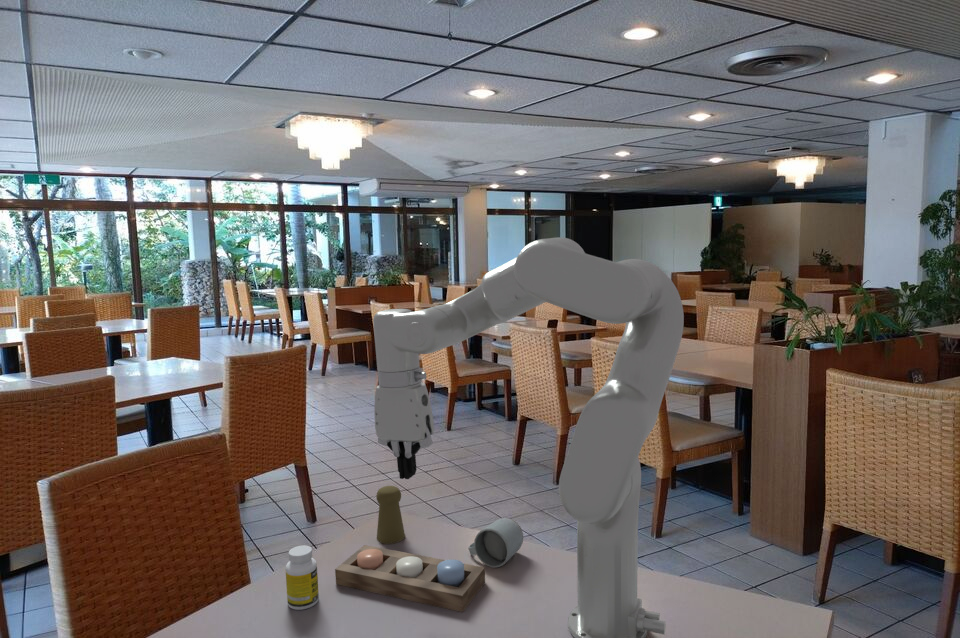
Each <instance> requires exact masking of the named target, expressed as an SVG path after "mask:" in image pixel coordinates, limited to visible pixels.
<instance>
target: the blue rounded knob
mask: <svg viewBox="0 0 960 638" xmlns="http://www.w3.org/2000/svg"><path fill="white" fill-rule="evenodd" d="M444 560H445V561H442V562H440V563H439V564H438V566H437V572H438V583H439V584H444V585H449V586H454V587H459V586H460V585H461V584H462V583H463V581H464V564H465V563H463V562H462V561H461V560H459V559H444Z"/></svg>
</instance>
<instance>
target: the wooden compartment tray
mask: <svg viewBox="0 0 960 638" xmlns="http://www.w3.org/2000/svg"><path fill="white" fill-rule="evenodd" d="M367 549H378V550H380V551H382V553H383V564H381V565H380V566H379V567H378V568H377V569H376V570H371V569H366V568H361V567H358V562H357V555H358V554H359V553H360V552H362V551H364V550H367ZM409 556H414V557H418V558H420V559H421V560H422V566H423V572H422V573H421V574H420V575H419V576H418V577H417V578H416V579H415V578H410V577H405V576H400V575H397V569H396V563H397V561H398V560H399V559H401V558H404V557H409ZM445 560H446V559H441V558H436V557H431V556H426V555H421V554H414V553H409V552H404V551H401V550H400V551H399V550H394V549H387V548H382V547H377V546H373V545H367V544H364V545H363V546H361V547H360V548H359V549H358V550H357V551H356V552H355V551H354V553H353V554H352V555H350V557H348V558H347V559H345V560H344V561H343V562H342V563H340V564H339V566H337V567H336V568H335V569H334V573H335V576H334V577H335V584H336V585H338V586H342V587H343V586H344V587H348V588H352V589H356V590H360V591H365V592H370V593H374V594H379V595H383V596H388V597H393V598H398V599H401V600H404V601H405V600H406V601H411V602H415V603H419V604H424V605H428V606H433V607H438V608H443V609H447V610H452V611H456V612H461V613H464V611H466V609H467V607H468V606H469V605H470V603H471V602H472V601H473V599H475V597H476V595H478V592H479V591H480V590H481V589H482V588H483V586H484V585H485V583H486V570H485V569H486V568H485V567H484V566H479V565H473V564H469V563H463V564H464V581H463V583H462V584H461V585H460V586H459V587H454V586H449V585H444V584H439V583H438V572H437V566H438V564H439V563H440V562H442V561H445Z"/></svg>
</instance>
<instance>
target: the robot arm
mask: <svg viewBox="0 0 960 638" xmlns="http://www.w3.org/2000/svg"><path fill="white" fill-rule="evenodd" d="M679 293H680V292H679V291H678V288H677V287H676V285H675V284H674V282H673V280H672V279H671V277H669V276H668V274H666V273H665V272H664V271H663V270H662V268H660V267H659V266H657V265H656V264H654V263H652V262H650V261H648V260H645V259H640V258H628V259H623V260H620V261H613V260H609V259H605V258H603V257H598V256H596V255H592V254H588V253H586V252H585V251H584V249H583V248H582V247H581V246H580V244H579V243H577V242H576V241H574V240H573V239H570V238H568V237H560V236H559V237H558V236H557V237H551V238H549V237H548V238H541V239H540V238H539V239H537V240H534V241H531V242H529V243H528V244H526V245H525V246H524V247H523V248H522V249H521V250H520V251H519V253H518V255H517V257H514V258H513V259H511V260H509V261H507V262H505V263H504V264H503V263H502V264H501V265H499V266H497V267H495V268H494V269H492V270H490V271H488V272H486V273H485V274H484V275H483V276H482V278H481V283H480V284H479V285H478V286H476V287H475V288H473V289H471V290H470V291H469V292H466V293H465V294H463V295H460V296H459V297H457V298H455V299H453V300H451V301H449V302H447V303H443V304H440V305H435V306H431V307H428V308H424V309H420V310H417V311H413V310H412V309H408V308H392V309H384V310H379V311H378V312H376V313H375V314H374V316H373V318H372V322H373V323H372V324H373V335H374V337H373V338H374V344H375V345H374V347H375V355H376V356H375V358H376V359H375V360H376V367H377V368H376V369H377V380H378V381H377V382H378V385H377V386H376V388H375V395H374V429H375V434H376V437H377V442H378V444H379V445H382V446H385V447H387V448H388V449H390V451H391V452H392V453H393V456H394V457H395V458H396V461H397V462H396V463H397V472H398V473H399V474H398V475H399V479H400V480H404V479H405V480H409V479H411V478H412V477H414V476H415V475H416V473H417V459H416V454H417V453H418V452H419V451H420V450H421V449H426V448H429V447H431V446H432V445H433V444H434V443H433V439H432V436H431V435H433V434H434V433H435V424H434V414H433V408H432V404H431V399H430V398H431V397H430V396H429V395H430V394H429V392H428V388H427V386H426V383H425V382H424V383H423V382H422V381H423V380H424V381H425V380H426V379H427V373H426V371H425V372H424V371H422V370H421V368H422V367H420V356H419V355H430V354H432V353H433V354H434V353H436V352H438V351H441V350H443V349H446V348H448V347H451V346H454V345H455V346H456V345H457V344H459V343H461V342H464V341H466V340H468V339H470V338H472V337H474V336H476V335H478V334H480V333H483V332H484V331H487V330H488V329H490V328H493V327H494V326H496V325H499V324H501V323H507V322H508V321H510V320H512V319H514V318H516V317H519V316H521V315H523V314H524V313H526V312H528V311H530V310H532V309H534V308H535V309H536V307H538V306H541V305H542V304H545V303H548V304H551V305H553V306H555V307H559V308H561V309H565V310H567V311H570V312H573V313H575V314H579V315H581V316H585V317H587V318H590V319H593V320H596V321H600V322H603V323H607V324H613V325H619V324H621V325H622V324H625V327H624V331H623V333H622V335H621V338H620V341H619V344H618V346H617V349H616V352H615V357H614V359H613V362H612V364H611V365H612V366H611V368H610V371H609V372H608V373H609V374H608V376H607V378H606V381H605V383H604V385H603V386H602V387H601V388H600V389H599V390H598V392H596V393H595V394H594V395H593V396H591V398H590V399H589V400H588V401H587V402H586V404H585V406H584V407H583V409H582V411H581V413H580V415H579V418H578V420H577V423H576V426H575V428H574V431H573V435H572V438H571V442H570V443H569V444H570V445H569V447H568V451H567V454H566V457H565V460H564V462H563V463H564V464H563V466H562V469H561V472H560V476H559V481H558V494H559V498H560V502H561V503H562V506H563V508H564V509H565V511H566V512H567V514H568V515H570V516H571V517H572V518H573V519H575V520H576V530H577V531H576V568H577V569H576V572H577V573H576V574H577V575H576V577H577V578H576V579H577V581H576V584H577V587H576V588H577V593H576V594H577V606H576V607H574V608H573V609H572V610H571V611H570V613H569V615H568V617H567V618H568V622H567V623H568V630H569V633H570V634H571V635H572V637H573V638H646V637H647V634H648V632H652V633H655V634H658V635H659V634H660V635H665V634H666V628H667V627H666V626H667V625H666V620H661V619H660V618H661V614H660V612H657V611H656V612H655V611H649V610H646V609H645V608H644V607H643V601H642V598H638V570H639V569H638V566H639V565H638V561H639V560H638V558H639V557H638V554H639V553H638V551H639V550H638V548H639V547H638V546H639V545H638V542H639V509H640V507H639V506H640V496H641V488H642V487H641V486H642V484H641V483H642V469H641V461H640V458H639V456H640V454H641V451H642V448H643V446H644V443H645V441H646V440H647V438H648V437H649V436H650V434H651V433H652V431H653V429H654V428H655V426H656V424H657V423H656V422H657V420H658V416H659V413H660V408H661V405H662V401H663V398H664V395H665V393H666V389H667V386H668V383H669V381H670V377H671V375H672V371H673V367H674V366H675V365H674V364H675V362H676V358H677V356H678V352H679V349H680V346H681V345H680V344H681V342H682V338H683V332H684V326H685V325H684V322H685V321H684V320H685V319H684V318H685V315H684V307H683V303H682V302H683V301H682V300H681V299H682V298H681V296H680V294H679Z"/></svg>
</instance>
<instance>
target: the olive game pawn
mask: <svg viewBox="0 0 960 638" xmlns="http://www.w3.org/2000/svg"><path fill="white" fill-rule="evenodd" d="M375 495H376V501H377V503H378V518H377V530H376V531H377V532H376V541H377V542H379V543H381V544H387V545H389V544H390V545H391V544H396V543H400V542H402V541H403V540H404V539H405V537H406V534H405V528H404V523H403V519H402V512H401V507H400V502H401V499H402V492H401V489H400V488H399V487H398V486H396V485H385V486H382V487H381V488H378V490H377V492H376V494H375Z"/></svg>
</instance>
